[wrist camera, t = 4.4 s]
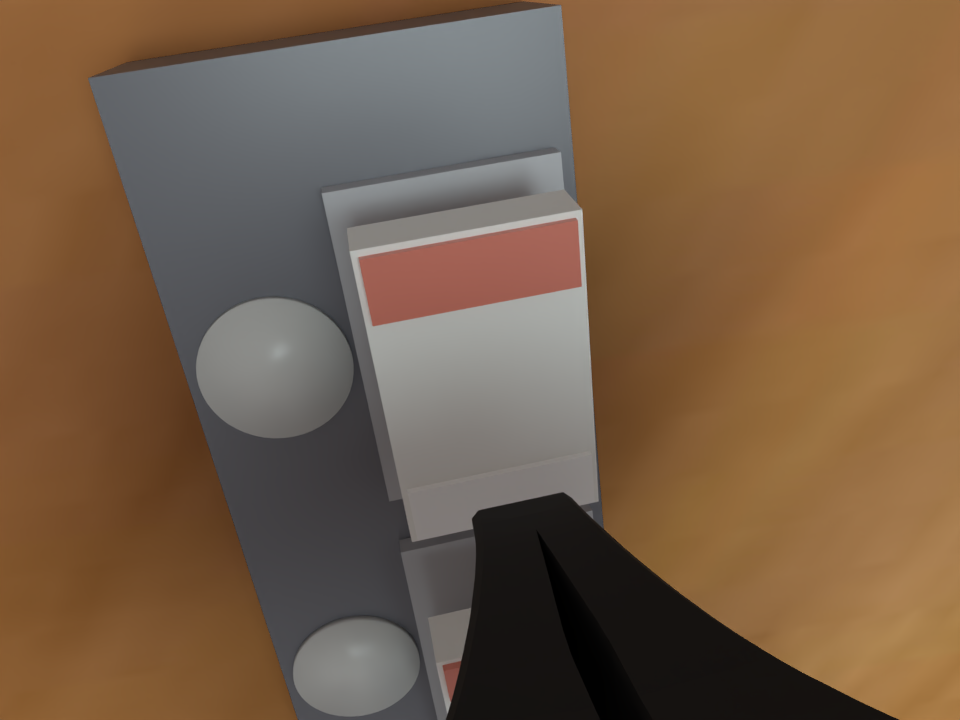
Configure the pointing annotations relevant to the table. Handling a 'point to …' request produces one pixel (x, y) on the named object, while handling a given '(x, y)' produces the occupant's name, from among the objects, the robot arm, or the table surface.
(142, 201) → the power strip
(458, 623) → the block
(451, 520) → the rocker outer
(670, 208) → the table surface
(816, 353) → the table surface
